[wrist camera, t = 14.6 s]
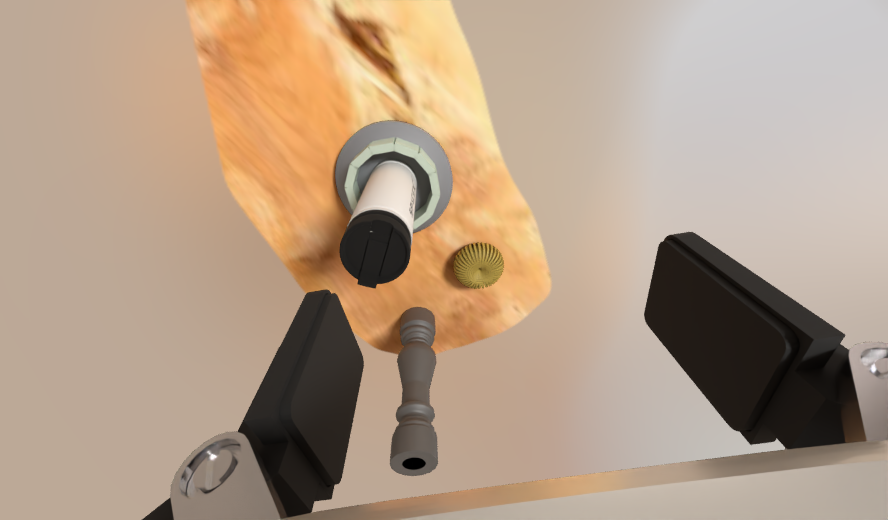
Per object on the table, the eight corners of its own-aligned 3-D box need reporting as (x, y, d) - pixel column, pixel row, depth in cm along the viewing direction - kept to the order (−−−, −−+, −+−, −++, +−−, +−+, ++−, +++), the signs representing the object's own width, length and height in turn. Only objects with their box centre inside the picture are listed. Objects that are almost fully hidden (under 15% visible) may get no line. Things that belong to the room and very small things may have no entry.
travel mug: (366, 197, 47) (331, 280, 30) (376, 151, 44) (344, 215, 27) (409, 209, 48) (399, 296, 31) (422, 166, 45) (419, 236, 28)
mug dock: (319, 132, 43) (310, 139, 40) (442, 110, 42) (443, 115, 39) (356, 239, 52) (351, 253, 48) (459, 222, 51) (461, 235, 47)
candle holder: (416, 337, 63) (412, 482, 42) (393, 319, 60) (376, 463, 39) (442, 320, 61) (450, 463, 40) (419, 301, 59) (415, 443, 37)
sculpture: (484, 240, 48) (516, 273, 52) (480, 228, 52) (510, 260, 55) (443, 272, 51) (476, 302, 54) (442, 258, 54) (473, 287, 58)
